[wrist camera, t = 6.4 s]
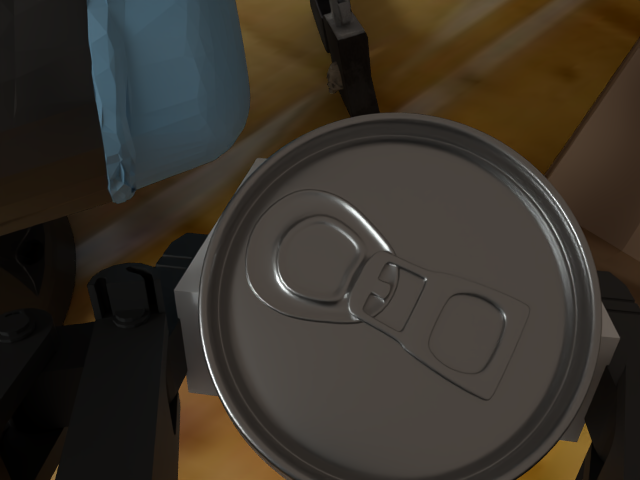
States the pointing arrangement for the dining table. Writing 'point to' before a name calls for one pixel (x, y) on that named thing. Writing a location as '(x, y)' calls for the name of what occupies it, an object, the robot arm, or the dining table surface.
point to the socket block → (607, 175)
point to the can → (399, 305)
